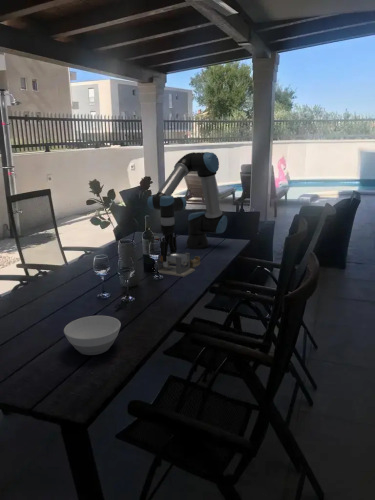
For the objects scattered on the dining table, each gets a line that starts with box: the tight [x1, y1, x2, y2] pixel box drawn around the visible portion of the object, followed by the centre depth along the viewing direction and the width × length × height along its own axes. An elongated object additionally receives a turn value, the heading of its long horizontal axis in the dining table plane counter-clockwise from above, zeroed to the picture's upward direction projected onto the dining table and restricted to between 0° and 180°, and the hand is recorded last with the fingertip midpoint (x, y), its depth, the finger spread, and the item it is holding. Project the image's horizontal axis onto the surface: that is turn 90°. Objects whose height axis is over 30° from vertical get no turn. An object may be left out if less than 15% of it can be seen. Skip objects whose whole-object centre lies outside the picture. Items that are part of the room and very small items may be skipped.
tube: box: [159, 251, 189, 266], centre depth 238 cm, size 22×6×6 cm, turn 60°
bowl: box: [63, 315, 122, 356], centre depth 151 cm, size 19×19×8 cm
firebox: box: [153, 250, 196, 278], centre depth 238 cm, size 22×12×10 cm, turn 60°
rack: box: [169, 255, 201, 269], centre depth 251 cm, size 19×9×4 cm, turn 60°
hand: (169, 265), depth 239 cm, fingers closed on tube, 6 cm apart
